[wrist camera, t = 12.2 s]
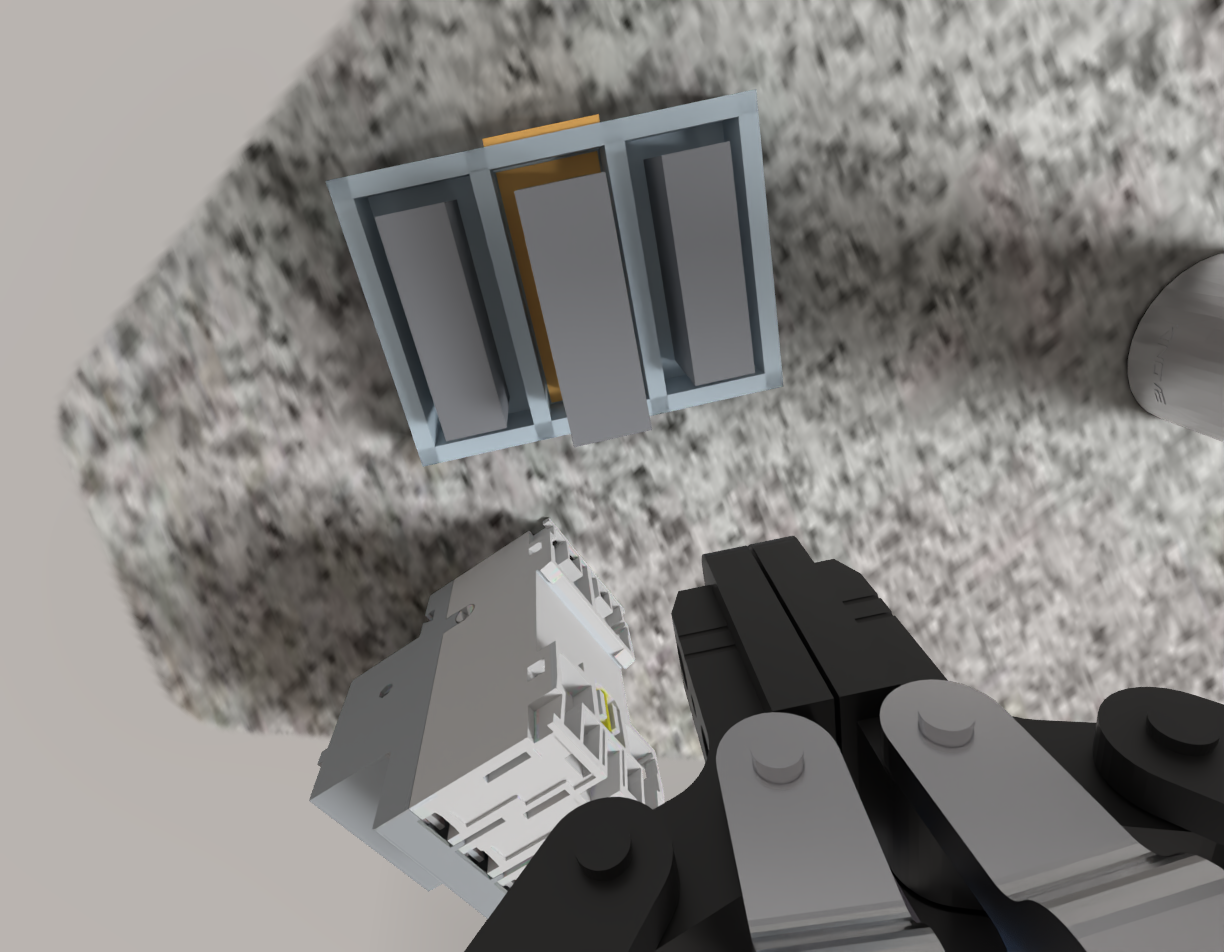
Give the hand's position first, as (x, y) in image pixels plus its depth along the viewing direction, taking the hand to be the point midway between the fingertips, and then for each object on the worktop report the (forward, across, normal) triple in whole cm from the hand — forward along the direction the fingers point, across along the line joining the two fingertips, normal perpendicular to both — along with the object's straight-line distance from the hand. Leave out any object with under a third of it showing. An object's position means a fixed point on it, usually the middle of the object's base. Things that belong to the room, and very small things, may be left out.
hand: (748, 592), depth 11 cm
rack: (+24, +2, -2) cm, 24 cm away
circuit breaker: (+24, +10, +16) cm, 30 cm away
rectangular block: (+22, +1, -2) cm, 23 cm away
